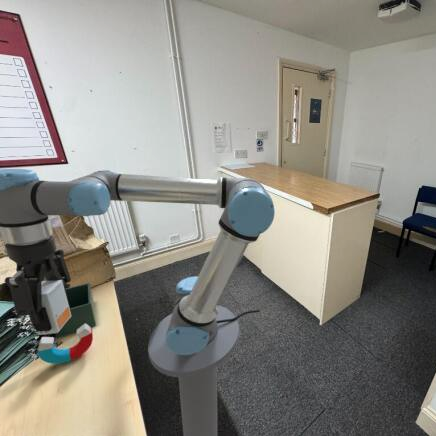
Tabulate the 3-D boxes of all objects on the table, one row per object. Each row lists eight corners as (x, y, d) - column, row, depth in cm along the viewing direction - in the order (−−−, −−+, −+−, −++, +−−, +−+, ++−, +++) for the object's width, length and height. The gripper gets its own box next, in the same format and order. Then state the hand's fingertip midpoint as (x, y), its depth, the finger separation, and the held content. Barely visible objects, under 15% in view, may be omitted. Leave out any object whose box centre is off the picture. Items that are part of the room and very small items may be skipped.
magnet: (43, 371, 68) (34, 345, 64) (45, 364, 70) (36, 338, 66) (96, 351, 75) (90, 327, 72) (95, 345, 77) (90, 321, 74)
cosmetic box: (58, 333, 59) (46, 294, 55) (37, 335, 58) (23, 296, 54) (72, 315, 64) (62, 279, 60) (53, 317, 63) (41, 280, 59)
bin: (95, 325, 84) (90, 303, 81) (56, 338, 78) (49, 315, 75) (94, 303, 94) (89, 282, 91) (59, 313, 88) (52, 291, 84)
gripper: (42, 223, 60) (63, 296, 68) (-39, 260, 43) (1, 353, 51) (76, 223, 62) (92, 295, 70) (12, 260, 45) (43, 350, 52)
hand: (54, 319), depth 60 cm, fingers closed on cosmetic box, 6 cm apart
